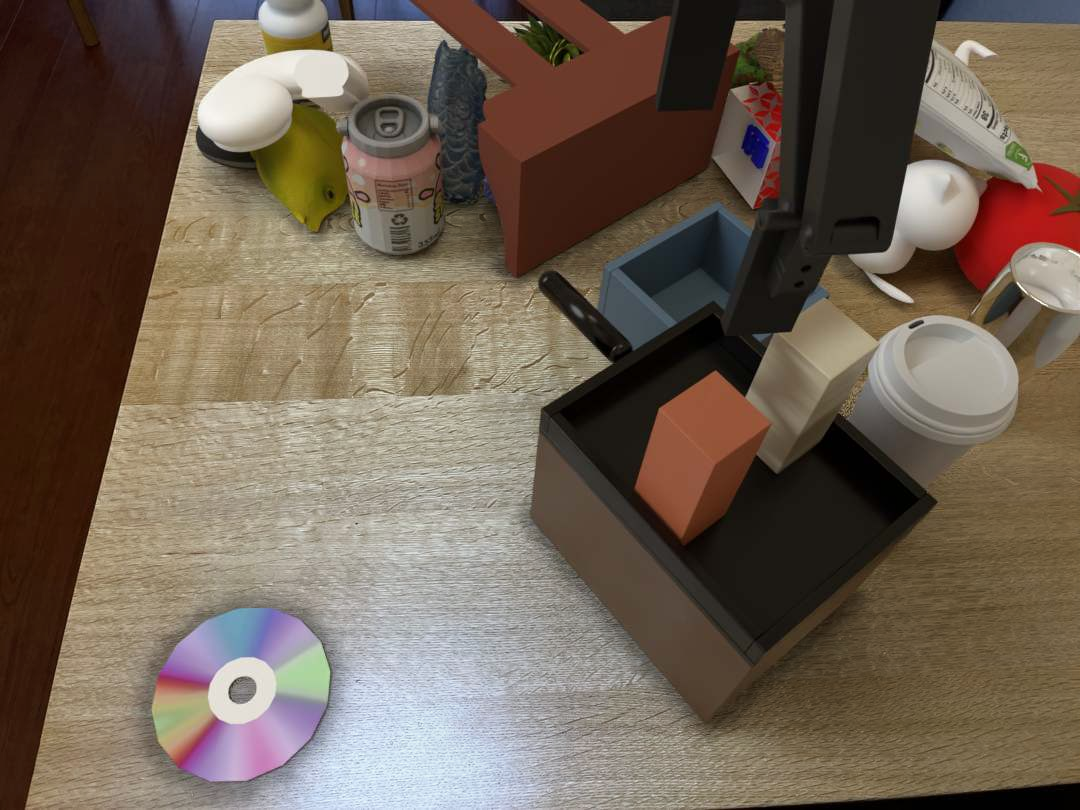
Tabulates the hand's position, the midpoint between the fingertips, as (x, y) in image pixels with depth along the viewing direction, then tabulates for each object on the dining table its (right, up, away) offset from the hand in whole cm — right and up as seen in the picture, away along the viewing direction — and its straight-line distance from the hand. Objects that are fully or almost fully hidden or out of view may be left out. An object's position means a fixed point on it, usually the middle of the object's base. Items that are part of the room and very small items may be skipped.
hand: (715, 206), depth 38 cm
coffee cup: (+18, -14, +30) cm, 38 cm away
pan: (0, -17, +27) cm, 32 cm away
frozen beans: (+13, +27, +35) cm, 46 cm away
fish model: (-16, +18, +49) cm, 55 cm away
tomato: (+34, +3, +42) cm, 54 cm away
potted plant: (-5, +19, +50) cm, 54 cm away
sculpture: (-29, +16, +38) cm, 51 cm away
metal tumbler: (+27, -8, +35) cm, 45 cm away
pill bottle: (-32, +24, +52) cm, 65 cm away
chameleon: (+24, +25, +43) cm, 55 cm away
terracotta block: (0, -15, +13) cm, 20 cm away
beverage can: (-21, +8, +42) cm, 47 cm away
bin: (+6, -3, +36) cm, 37 cm away
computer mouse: (-35, +19, +43) cm, 59 cm away
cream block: (+7, -11, +16) cm, 21 cm away
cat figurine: (+21, +4, +42) cm, 47 cm away
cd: (-27, -27, +18) cm, 42 cm away
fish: (-34, +13, +39) cm, 53 cm away
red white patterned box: (+15, +14, +48) cm, 53 cm away
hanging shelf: (0, +12, +38) cm, 40 cm away
